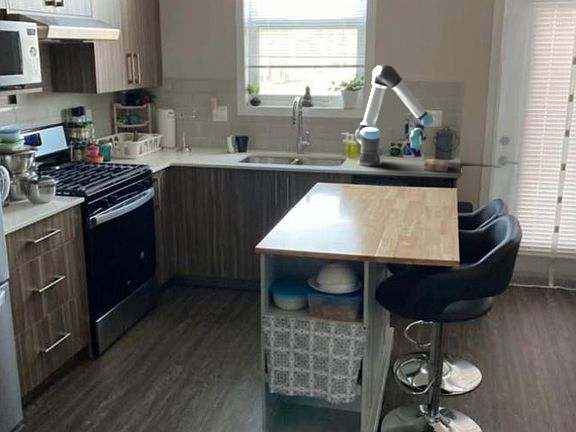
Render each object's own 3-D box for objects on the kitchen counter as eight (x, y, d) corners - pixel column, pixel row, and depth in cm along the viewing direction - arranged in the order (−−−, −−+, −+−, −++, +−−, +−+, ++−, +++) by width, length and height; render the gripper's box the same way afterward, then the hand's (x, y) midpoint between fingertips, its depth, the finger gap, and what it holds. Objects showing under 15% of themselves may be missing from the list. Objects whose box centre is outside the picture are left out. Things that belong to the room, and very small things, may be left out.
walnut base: (424, 170, 399) (424, 163, 398) (425, 165, 416) (426, 159, 415) (446, 171, 396) (447, 165, 395) (447, 166, 412) (448, 160, 411)
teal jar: (410, 148, 405) (411, 130, 402) (410, 146, 410) (411, 129, 407) (419, 148, 404) (420, 131, 401) (419, 147, 409) (420, 130, 406)
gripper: (431, 140, 421) (429, 145, 399) (403, 139, 425) (399, 144, 404) (432, 129, 419) (430, 133, 397) (403, 128, 423) (400, 132, 402)
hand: (415, 139), depth 400 cm, fingers closed on teal jar, 5 cm apart
